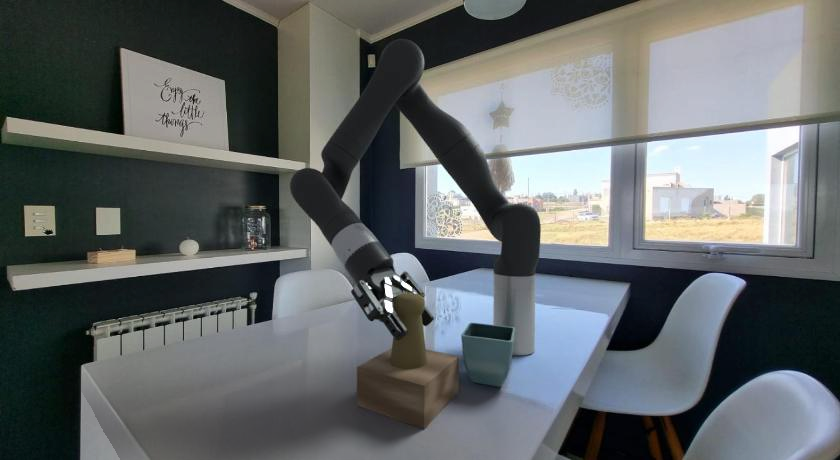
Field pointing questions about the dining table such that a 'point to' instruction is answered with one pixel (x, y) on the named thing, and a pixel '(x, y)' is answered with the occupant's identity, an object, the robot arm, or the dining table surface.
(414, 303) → the cork
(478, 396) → the dining table surface
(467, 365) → the flower pot
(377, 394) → the walnut block
